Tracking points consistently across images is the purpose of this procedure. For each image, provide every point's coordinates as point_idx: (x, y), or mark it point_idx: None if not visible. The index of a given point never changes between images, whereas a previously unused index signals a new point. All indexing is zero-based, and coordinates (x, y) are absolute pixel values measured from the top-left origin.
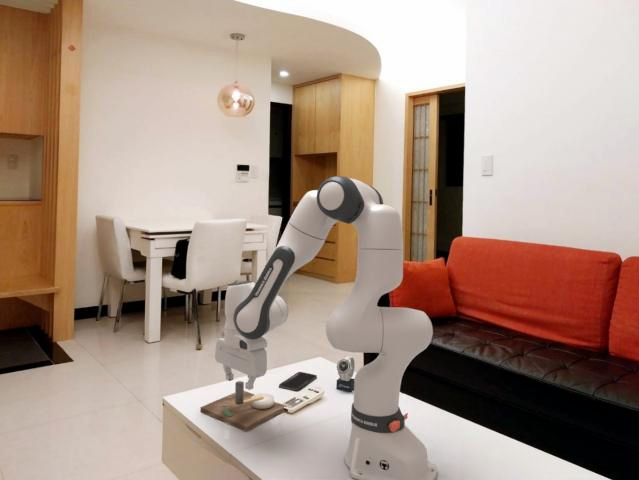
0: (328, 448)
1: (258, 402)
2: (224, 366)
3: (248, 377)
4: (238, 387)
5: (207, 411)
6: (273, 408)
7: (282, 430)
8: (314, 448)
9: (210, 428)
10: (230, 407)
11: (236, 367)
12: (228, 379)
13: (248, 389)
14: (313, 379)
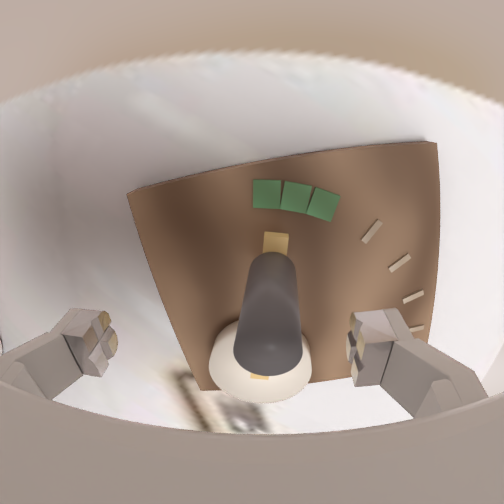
0: (3, 301)
1: (232, 341)
2: (462, 390)
3: (13, 366)
4: (246, 315)
5: (389, 145)
6: (207, 358)
7: (92, 289)
8: (6, 281)
9: (256, 79)
10: (339, 246)
11: (104, 450)
12: (356, 315)
13: (75, 308)
14: None
